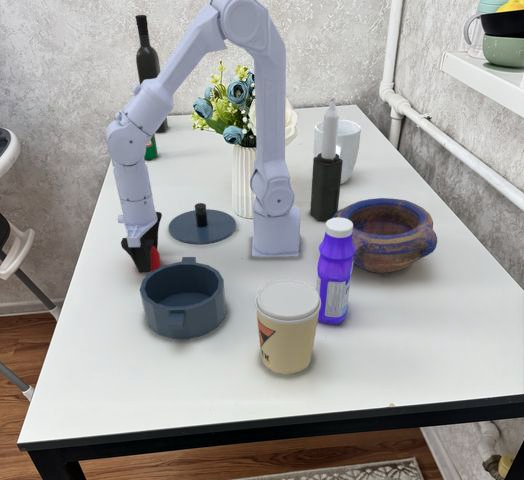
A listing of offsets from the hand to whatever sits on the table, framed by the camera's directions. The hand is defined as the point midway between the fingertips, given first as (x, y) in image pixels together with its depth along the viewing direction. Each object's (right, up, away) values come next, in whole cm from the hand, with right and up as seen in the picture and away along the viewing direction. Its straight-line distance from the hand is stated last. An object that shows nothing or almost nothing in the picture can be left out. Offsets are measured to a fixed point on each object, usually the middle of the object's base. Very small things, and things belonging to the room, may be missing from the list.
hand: (148, 260), depth 95 cm
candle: (+36, +13, +16) cm, 42 cm away
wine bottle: (-11, +52, +59) cm, 79 cm away
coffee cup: (+26, -19, -18) cm, 37 cm away
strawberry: (0, -1, +1) cm, 2 cm away
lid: (+9, +9, +12) cm, 18 cm away
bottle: (+34, -11, -10) cm, 37 cm away
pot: (+9, -11, -10) cm, 18 cm away
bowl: (+45, 0, +2) cm, 45 cm away
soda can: (-10, +37, +42) cm, 57 cm away
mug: (+40, +25, +29) cm, 56 cm away
